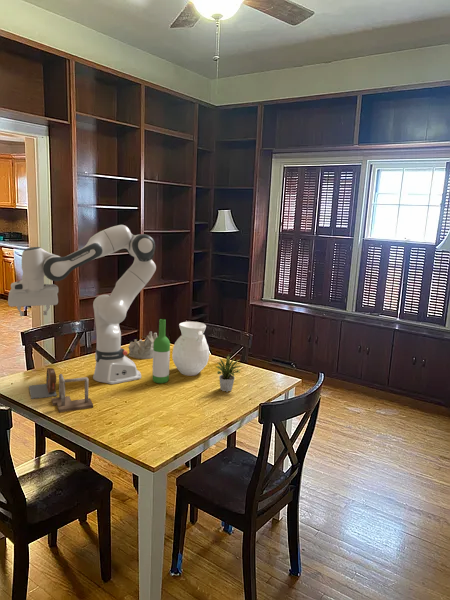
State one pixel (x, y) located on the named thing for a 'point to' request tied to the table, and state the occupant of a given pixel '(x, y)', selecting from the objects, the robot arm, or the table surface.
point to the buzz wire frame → (65, 402)
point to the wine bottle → (161, 355)
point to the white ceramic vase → (191, 348)
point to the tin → (51, 380)
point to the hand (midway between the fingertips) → (33, 315)
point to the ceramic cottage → (143, 347)
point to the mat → (40, 391)
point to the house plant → (227, 374)
